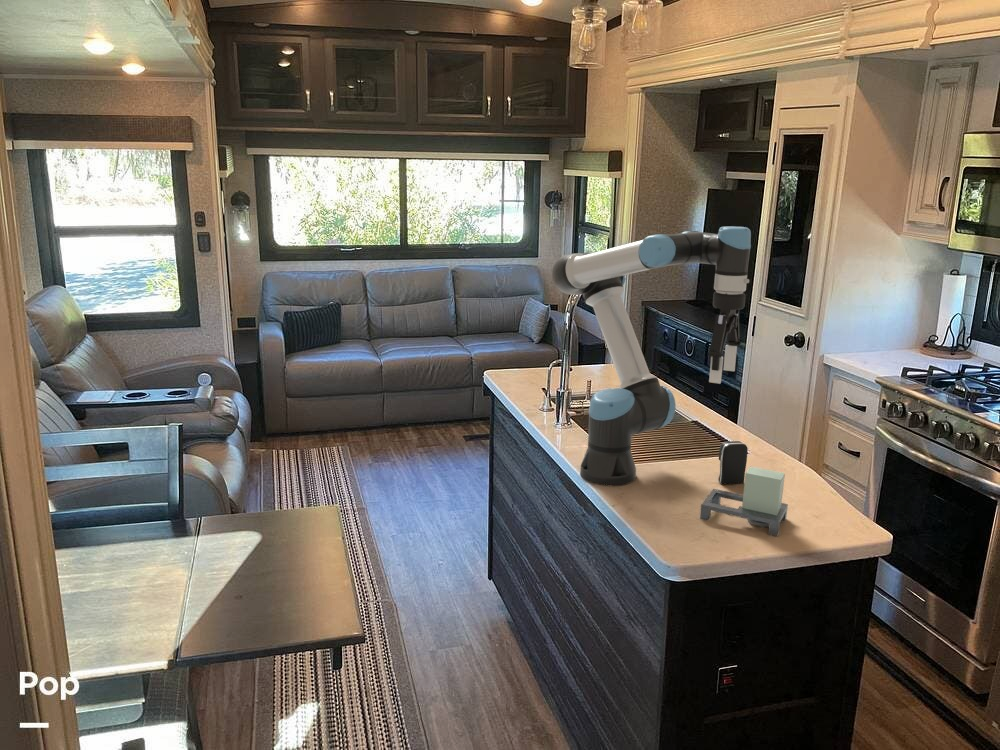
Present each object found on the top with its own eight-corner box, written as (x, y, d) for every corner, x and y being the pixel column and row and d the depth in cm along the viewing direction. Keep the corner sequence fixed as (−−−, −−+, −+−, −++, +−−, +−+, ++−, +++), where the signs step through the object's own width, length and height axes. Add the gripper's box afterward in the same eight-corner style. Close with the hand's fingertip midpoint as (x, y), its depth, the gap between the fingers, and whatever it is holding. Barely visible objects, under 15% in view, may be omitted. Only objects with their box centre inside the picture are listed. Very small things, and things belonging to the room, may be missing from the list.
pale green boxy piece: (740, 522, 187) (745, 473, 184) (745, 513, 192) (750, 465, 189) (775, 530, 184) (780, 480, 180) (779, 521, 188) (785, 472, 185)
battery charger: (738, 478, 214) (742, 439, 211) (745, 484, 211) (749, 443, 208) (714, 480, 213) (718, 440, 210) (720, 485, 210) (724, 445, 207)
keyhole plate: (699, 518, 189) (701, 504, 188) (712, 502, 199) (713, 488, 198) (777, 536, 181) (779, 521, 180) (786, 518, 190) (787, 504, 189)
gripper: (732, 300, 178) (724, 390, 183) (757, 286, 199) (749, 367, 204) (699, 297, 181) (692, 385, 187) (727, 284, 202) (720, 363, 208)
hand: (722, 376), depth 195 cm, fingers open, 13 cm apart
